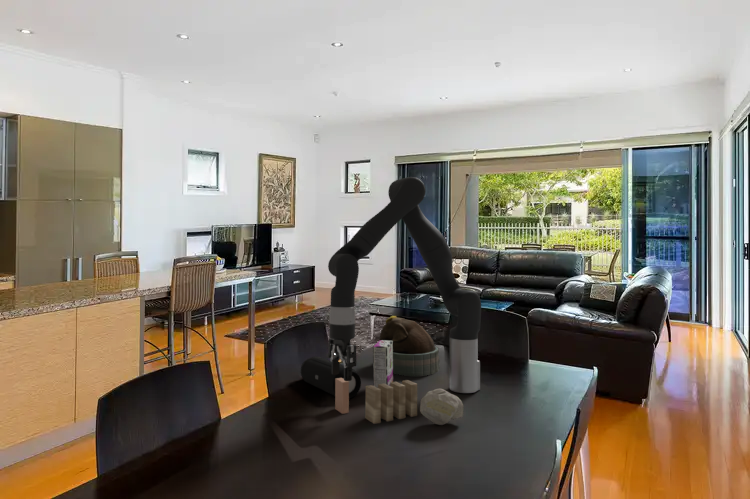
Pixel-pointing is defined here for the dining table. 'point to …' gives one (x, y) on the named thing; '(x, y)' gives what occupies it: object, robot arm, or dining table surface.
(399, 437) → the dining table surface
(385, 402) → the tile
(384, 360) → the candy bar box
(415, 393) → the tile
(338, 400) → the tile
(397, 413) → the tile
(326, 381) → the portable speaker
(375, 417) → the tile
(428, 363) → the elephant in basket
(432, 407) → the fossil replica
